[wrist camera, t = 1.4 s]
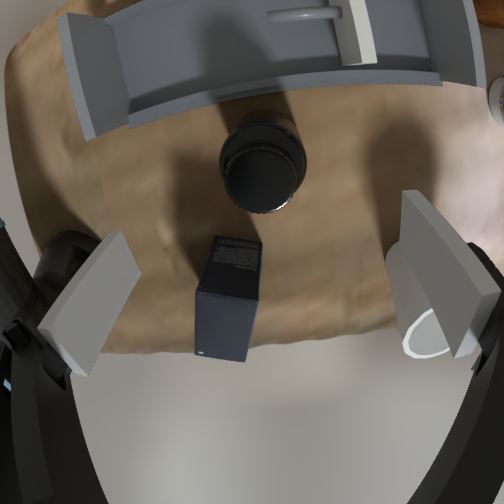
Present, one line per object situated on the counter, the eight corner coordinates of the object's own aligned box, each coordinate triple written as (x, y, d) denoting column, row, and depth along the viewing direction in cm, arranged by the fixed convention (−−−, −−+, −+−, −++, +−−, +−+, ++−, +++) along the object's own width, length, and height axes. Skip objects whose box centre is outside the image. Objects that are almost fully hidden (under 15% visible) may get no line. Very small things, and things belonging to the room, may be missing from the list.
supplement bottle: (223, 119, 27) (193, 147, 17) (289, 101, 26) (298, 116, 16) (244, 179, 31) (228, 236, 21) (306, 163, 29) (322, 214, 19)
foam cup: (408, 292, 38) (437, 363, 27) (360, 272, 37) (385, 351, 26) (447, 242, 33) (492, 308, 22) (400, 214, 31) (447, 284, 21)
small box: (253, 304, 41) (246, 365, 33) (207, 297, 41) (192, 356, 32) (265, 242, 35) (261, 303, 27) (212, 233, 35) (191, 292, 26)
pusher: (279, 71, 23) (281, 69, 17) (258, -18, 18) (253, -43, 12) (354, 65, 22) (377, 63, 16) (333, -24, 16) (349, -48, 11)
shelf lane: (131, 127, 28) (88, 148, 21) (104, 20, 20) (55, 13, 13) (439, 85, 22) (486, 96, 15) (416, -27, 15) (456, -47, 7)
